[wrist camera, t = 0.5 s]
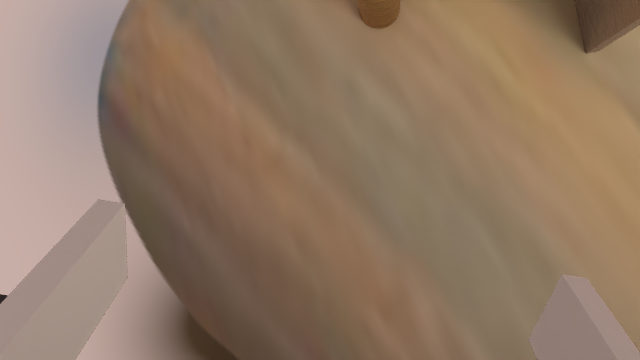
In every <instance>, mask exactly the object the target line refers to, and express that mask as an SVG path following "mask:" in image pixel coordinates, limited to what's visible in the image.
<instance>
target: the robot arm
mask: <svg viewBox="0 0 640 360" xmlns="http://www.w3.org/2000/svg"><path fill="white" fill-rule="evenodd" d="M127 278H128V270H127V245H126V221H125V204H123V203H117V202H111V201H105V200H98V201H97V202H96V203H95V204H94V205H93V206H92V207H91V208H90V209H89V210H88V211H87V212H86V213H85V215H83V216H82V218H81V219H80V220H79V221H78V222H77V223H76V224H75V225H74V226H73V227H72V228H71V229H70V230H69V231H68V233H67V234H66V235H65V236H64V237H63V238H62V239H61V240H60V241H59V242H58V243H57V244H56V245H55V246H54V247H53V248H52V249H51V251H50V252H49V253H48V254H47V255H46V256H45V257H44V258H43V259H42V260H41V261H40V262H39V263H38V265H36V267H35V268H34V269H33V270H32V271H31V272H30V273H29V274H28V275H27V276H26V277H25V278H24V279H23V280H22V282H21V283H20V284H19V285H18V286H17V287H16V288H15V289H14V290H13V291H12V292H11V293H10V294H9V295H8V296H7V295H1V294H0V360H75V359H76V358H77V356H78V355H79V353H80V352H81V350H82V348H83V347H84V345H85V344H86V342H87V341H88V339H89V337H90V336H91V334H92V333H93V331H94V329H95V328H96V326H97V325H98V323H99V322H100V320H101V319H102V317H103V315H104V314H105V312H106V311H107V309H108V308H109V306H110V304H111V302H112V301H113V300H114V298H115V297H116V295H117V293H118V292H119V290H120V289H121V287H122V285H123V284H124V282H125V281H126V279H127ZM528 340H529V342H530V344H531V347H532V349H533V351H534V353H535V355H536V357H537V360H640V352H639V351H638V349H637V348H636V347H635V345H634V344H633V342H632V341H631V339H630V338H629V337H628V335H627V334H626V332H625V331H624V330H623V328H622V327H621V325H620V324H619V323H618V321H617V320H616V318H615V317H614V316H613V314H612V313H611V311H610V310H609V309H608V307H607V306H606V304H605V303H604V302H603V300H602V299H601V297H600V296H599V295H598V293H597V292H596V290H595V289H594V288H593V286H592V285H591V283H590V282H589V281H588V279H587V278H583V277H577V276H571V275H564V274H562V275H561V277H560V279H559V281H558V283H557V285H556V287H555V289H554V291H553V293H552V295H551V297H550V298H549V300H548V302H547V304H546V306H545V308H544V310H543V312H542V314H541V316H540V318H539V320H538V322H537V324H536V326H535V328H534V330H533V331H532V333H531V335H530V337H529V339H528Z"/></svg>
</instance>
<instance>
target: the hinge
mask: <svg viewBox="0 0 640 360" xmlns="http://www.w3.org/2000/svg"><path fill="white" fill-rule="evenodd" d="M575 3H576V8H577V12H578V17H579V22H580V26H581V31H582V36H583V40H584V45H585V50H586V53H591V52H596V51H600V50H601V49H603V48H604V47H606V46H607V45H609V44H611V43H612V42H614V41H615V40H617V39H618V38H620V37H622V36H623V35H625V34H626V33H628V32H629V31H631V30H633V29H634V28H636V27H637V26H639V25H640V0H575Z"/></svg>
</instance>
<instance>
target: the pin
mask: <svg viewBox="0 0 640 360" xmlns="http://www.w3.org/2000/svg"><path fill="white" fill-rule="evenodd" d="M358 5H359V11H360V16H361V18H362V20H363V21H364V23H365V24H367V25H368V26H370V27H372V28H377V29H381V28H385V27H388V26H389V25H391V24H392V23H393V22H394V21H395V20H396V18H397V17H398V14H399V10H400V0H358Z"/></svg>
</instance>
